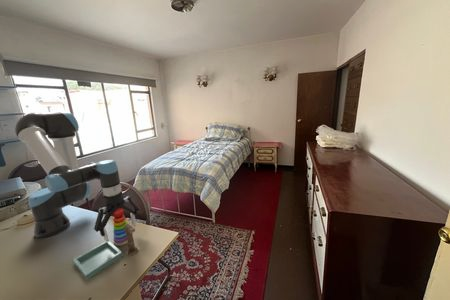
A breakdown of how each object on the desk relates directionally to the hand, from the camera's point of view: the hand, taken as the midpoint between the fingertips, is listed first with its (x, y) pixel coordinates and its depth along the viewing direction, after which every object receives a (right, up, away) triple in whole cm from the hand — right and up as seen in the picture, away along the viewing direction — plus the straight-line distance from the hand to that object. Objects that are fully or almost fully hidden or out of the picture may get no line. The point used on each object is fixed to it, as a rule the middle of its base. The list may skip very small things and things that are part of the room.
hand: (121, 232), depth 93 cm
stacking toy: (0, -5, +1) cm, 5 cm away
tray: (-4, -8, -10) cm, 13 cm away
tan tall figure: (+9, -6, -6) cm, 12 cm away
